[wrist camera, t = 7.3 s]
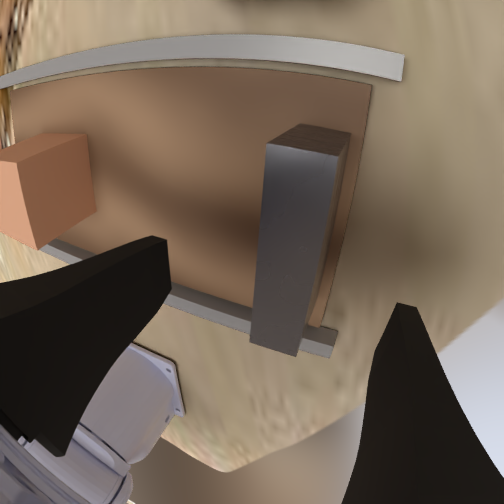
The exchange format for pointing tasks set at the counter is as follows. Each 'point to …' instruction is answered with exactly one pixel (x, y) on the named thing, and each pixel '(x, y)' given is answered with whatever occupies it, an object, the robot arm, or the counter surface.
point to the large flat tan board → (218, 177)
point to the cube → (45, 187)
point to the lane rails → (225, 48)
